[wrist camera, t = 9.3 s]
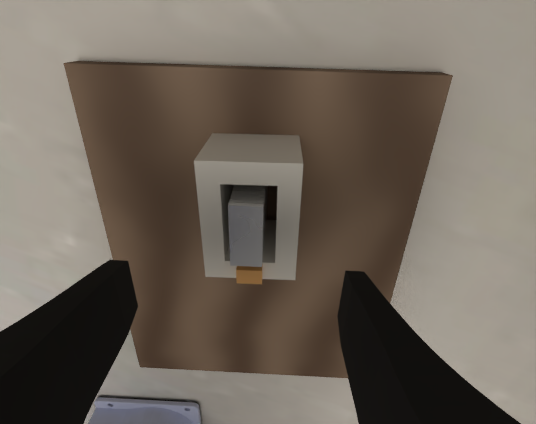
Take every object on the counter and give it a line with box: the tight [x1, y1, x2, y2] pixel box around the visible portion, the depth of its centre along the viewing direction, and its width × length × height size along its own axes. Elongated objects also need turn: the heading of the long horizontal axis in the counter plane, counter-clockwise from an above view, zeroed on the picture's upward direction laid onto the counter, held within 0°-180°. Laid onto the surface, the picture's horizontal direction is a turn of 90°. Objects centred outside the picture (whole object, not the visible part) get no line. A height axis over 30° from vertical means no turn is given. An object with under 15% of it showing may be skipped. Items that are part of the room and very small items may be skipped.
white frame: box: [194, 133, 303, 284], centre depth 16 cm, size 6×4×4 cm
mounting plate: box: [64, 61, 453, 378], centre depth 21 cm, size 18×22×1 cm
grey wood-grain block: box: [228, 185, 268, 267], centre depth 16 cm, size 1×3×5 cm, turn 179°
